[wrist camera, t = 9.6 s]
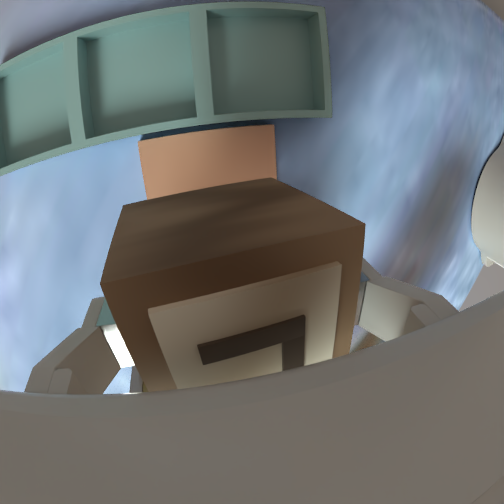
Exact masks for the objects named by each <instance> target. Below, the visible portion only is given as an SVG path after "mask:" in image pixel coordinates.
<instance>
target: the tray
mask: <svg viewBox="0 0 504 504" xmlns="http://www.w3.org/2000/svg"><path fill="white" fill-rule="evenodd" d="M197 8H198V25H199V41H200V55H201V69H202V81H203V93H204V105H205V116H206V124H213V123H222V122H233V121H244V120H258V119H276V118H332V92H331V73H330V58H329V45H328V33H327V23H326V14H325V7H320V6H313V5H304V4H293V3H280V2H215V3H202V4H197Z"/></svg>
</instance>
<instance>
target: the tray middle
mask: <svg viewBox="0 0 504 504" xmlns="http://www.w3.org/2000/svg"><path fill="white" fill-rule="evenodd" d="M70 61H71V79H72V92H73V102H74V111H75V119H76V127H77V134H78V140H79V147H80V149H82V148H86V147H90V146H94V145H97V144H101V143H106V142H110V141H114V140H118V139H123V138H127V137H132V136H137V135H142V134H147V133H153V132H158V131H164V130H170V129H176V128H183V127H190V126H197V125H205V124H206V116H205V105H204V93H203V81H202V69H201V55H200V41H199V25H198V8H197V4H191V5H183V6H175V7H168V8H162V9H156V10H151V11H146V12H141V13H136V14H131V15H127V16H123V17H119V18H115V19H111V20H108V21H104V22H101V23H97V24H94V25H91V26H88V27H85V28H82V29H79V30H76V31H73V32H71V33H70Z"/></svg>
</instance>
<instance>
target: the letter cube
mask: <svg viewBox="0 0 504 504" xmlns="http://www.w3.org/2000/svg"><path fill="white" fill-rule="evenodd" d="M364 237H365V223H363V222H361V221H359V220H357V219H355V218H354V217H352V216H350V215H348V214H346V213H344V212H342V211H340V210H338V209H336V208H334V207H332V206H330V205H328V204H326V203H324V202H322V201H320V200H318V199H316V198H314V197H312V196H310V195H308V194H306V193H304V192H302V191H300V190H298V189H295V188H293V187H291V186H289V185H287V184H285V183H283V182H280V181H278V180H276V179H274V178H272V177H270V178H263V179H256V180H250V181H243V182H237V183H231V184H225V185H219V186H214V187H208V188H203V189H198V190H192V191H187V192H182V193H177V194H172V195H167V196H163V197H158V198H153V199H149V200H144V201H140V202H136V203H131V204H127V205H123V208H122V211H121V214H120V217H119V220H118V223H117V226H116V229H115V232H114V235H113V238H112V242H111V245H110V248H109V252H108V255H107V259H106V263H105V266H104V270H103V274H102V278H101V282H100V285H101V288H102V291H103V293H104V296H105V299H106V301H107V304H108V306H109V309H110V311H111V314H112V316H113V318H114V321H115V323H116V325H117V328H118V330H119V332H120V335H121V337H122V339H123V341H124V343H125V346H126V348H127V350H128V352H129V354H130V356H131V358H132V360H133V362H134V364H135V366H136V368H137V370H138V372H139V374H140V376H141V378H142V380H143V382H144V384H145V386H146V388H147V389H148V391H149V392H153V391H164V390H174V389H182V388H191V387H198V386H205V385H212V384H218V383H225V382H230V381H236V380H242V379H247V378H252V377H257V376H262V375H267V374H272V373H276V372H281V371H285V370H289V369H294V368H298V367H302V366H306V365H310V364H314V363H317V362H321V361H325V360H328V359H332V358H336V357H339V356H342V355H346V354H349V351H350V345H351V340H352V334H353V328H354V322H355V315H356V309H357V302H358V294H359V286H360V278H361V269H362V260H363V249H364Z"/></svg>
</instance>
